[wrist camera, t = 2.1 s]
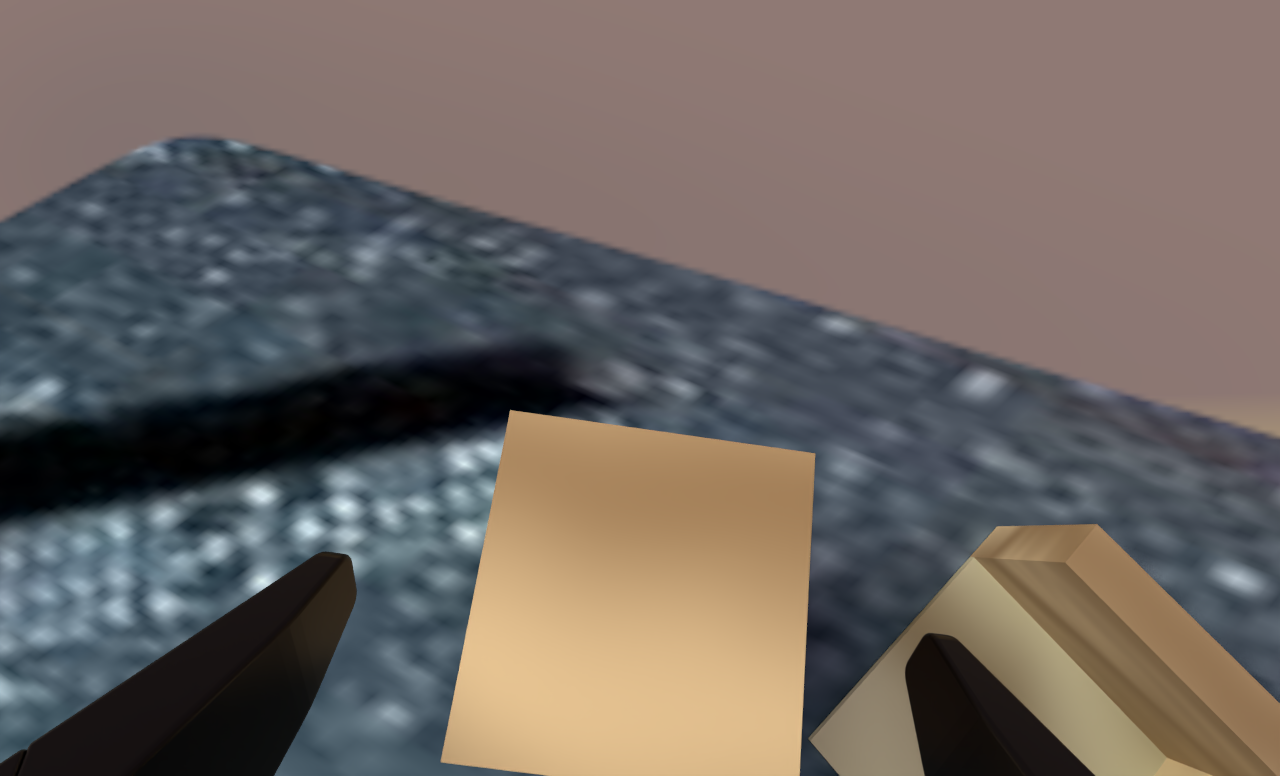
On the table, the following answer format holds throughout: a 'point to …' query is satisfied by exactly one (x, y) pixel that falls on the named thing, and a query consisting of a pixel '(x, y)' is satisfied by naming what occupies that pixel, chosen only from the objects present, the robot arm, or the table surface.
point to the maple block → (637, 606)
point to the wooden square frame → (1072, 666)
